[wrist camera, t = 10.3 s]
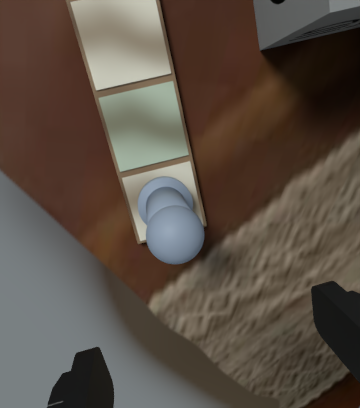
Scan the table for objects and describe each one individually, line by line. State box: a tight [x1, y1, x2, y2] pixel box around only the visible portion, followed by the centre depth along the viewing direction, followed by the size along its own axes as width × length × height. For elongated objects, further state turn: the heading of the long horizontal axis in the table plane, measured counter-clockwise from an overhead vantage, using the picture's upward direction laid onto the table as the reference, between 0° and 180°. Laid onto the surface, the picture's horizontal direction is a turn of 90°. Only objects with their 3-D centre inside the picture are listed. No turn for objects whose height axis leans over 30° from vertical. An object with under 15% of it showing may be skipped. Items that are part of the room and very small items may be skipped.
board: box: [66, 0, 207, 244], centre depth 26 cm, size 21×7×1 cm, turn 13°
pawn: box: [138, 176, 204, 264], centre depth 23 cm, size 5×5×10 cm
